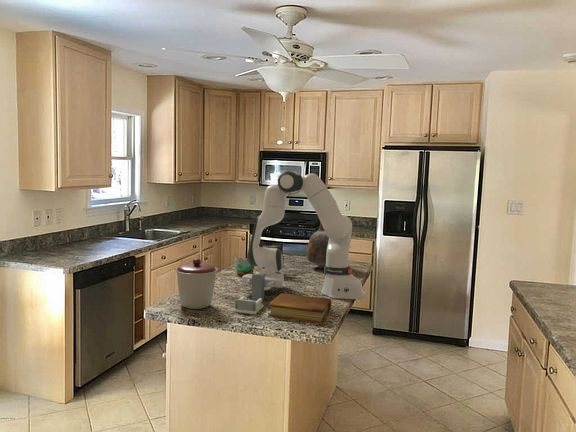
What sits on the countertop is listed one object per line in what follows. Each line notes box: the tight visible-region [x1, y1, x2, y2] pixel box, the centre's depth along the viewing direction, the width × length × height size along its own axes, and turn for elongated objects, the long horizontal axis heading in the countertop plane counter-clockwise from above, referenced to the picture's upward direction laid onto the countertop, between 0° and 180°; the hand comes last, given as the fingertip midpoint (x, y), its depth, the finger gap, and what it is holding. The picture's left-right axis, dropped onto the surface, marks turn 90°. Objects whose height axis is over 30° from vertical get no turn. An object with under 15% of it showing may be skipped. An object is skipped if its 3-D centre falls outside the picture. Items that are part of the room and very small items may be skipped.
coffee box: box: [261, 244, 282, 271], centre depth 272 cm, size 9×6×16 cm
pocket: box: [232, 295, 264, 315], centre depth 204 cm, size 10×11×5 cm
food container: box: [234, 256, 255, 277], centre depth 264 cm, size 12×6×10 cm, turn 68°
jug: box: [306, 221, 329, 270], centre depth 290 cm, size 24×21×30 cm
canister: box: [175, 258, 219, 310], centre depth 205 cm, size 18×18×21 cm
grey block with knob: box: [251, 271, 266, 301], centre depth 220 cm, size 5×5×13 cm
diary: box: [268, 292, 332, 324], centre depth 202 cm, size 23×19×6 cm
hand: (258, 284), depth 219 cm, fingers open, 8 cm apart
